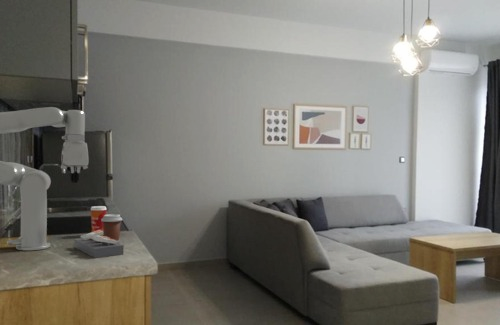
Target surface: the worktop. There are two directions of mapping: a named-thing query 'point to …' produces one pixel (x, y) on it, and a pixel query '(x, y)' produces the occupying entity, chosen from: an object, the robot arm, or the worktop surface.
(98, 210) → the paper cup
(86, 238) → the plate
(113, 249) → the rocker switch panel
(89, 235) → the rocker middle
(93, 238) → the rocker near
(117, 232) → the coffee cup
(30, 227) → the robot arm
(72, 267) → the worktop surface
